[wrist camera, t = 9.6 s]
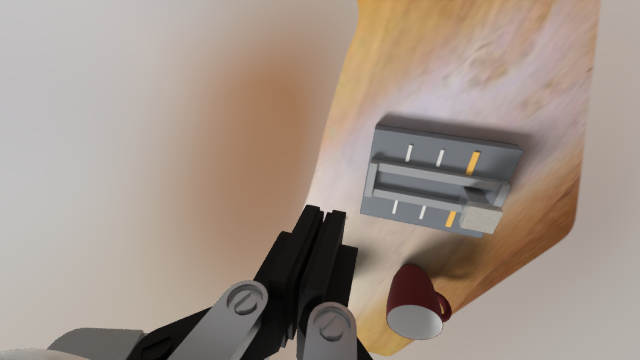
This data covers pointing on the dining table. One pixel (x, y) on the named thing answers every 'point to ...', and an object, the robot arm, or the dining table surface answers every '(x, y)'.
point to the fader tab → (478, 211)
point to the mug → (415, 305)
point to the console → (433, 176)
